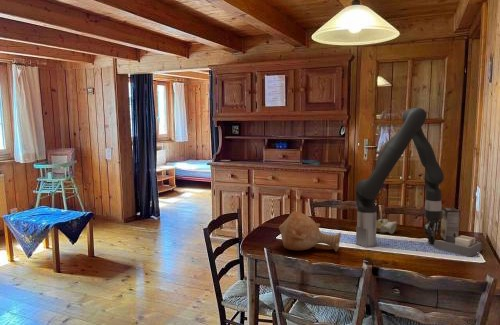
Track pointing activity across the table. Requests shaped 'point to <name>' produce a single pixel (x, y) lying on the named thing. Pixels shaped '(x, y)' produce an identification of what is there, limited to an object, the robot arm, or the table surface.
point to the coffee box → (449, 222)
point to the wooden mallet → (461, 240)
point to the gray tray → (457, 246)
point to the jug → (305, 233)
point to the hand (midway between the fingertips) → (432, 242)
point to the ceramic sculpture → (385, 226)
